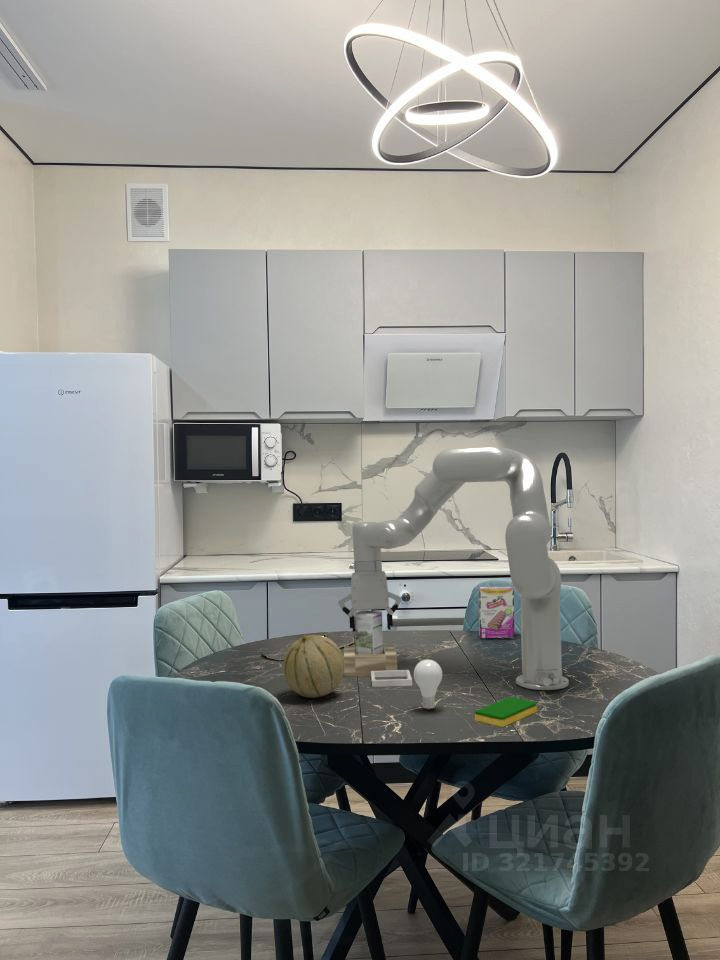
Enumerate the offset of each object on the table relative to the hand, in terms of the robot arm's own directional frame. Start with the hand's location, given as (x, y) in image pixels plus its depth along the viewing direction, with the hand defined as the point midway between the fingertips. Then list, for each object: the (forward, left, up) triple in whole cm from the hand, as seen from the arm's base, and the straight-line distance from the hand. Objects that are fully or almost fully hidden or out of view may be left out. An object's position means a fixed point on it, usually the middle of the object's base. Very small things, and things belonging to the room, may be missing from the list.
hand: (371, 629), depth 202 cm
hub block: (0, +1, -11) cm, 11 cm away
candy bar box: (+36, -41, -11) cm, 56 cm away
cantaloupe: (-25, +15, -11) cm, 31 cm away
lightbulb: (-38, -11, -11) cm, 41 cm away
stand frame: (-13, -4, -11) cm, 17 cm away
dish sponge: (-44, -27, -11) cm, 53 cm away
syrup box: (0, +1, -10) cm, 10 cm away
